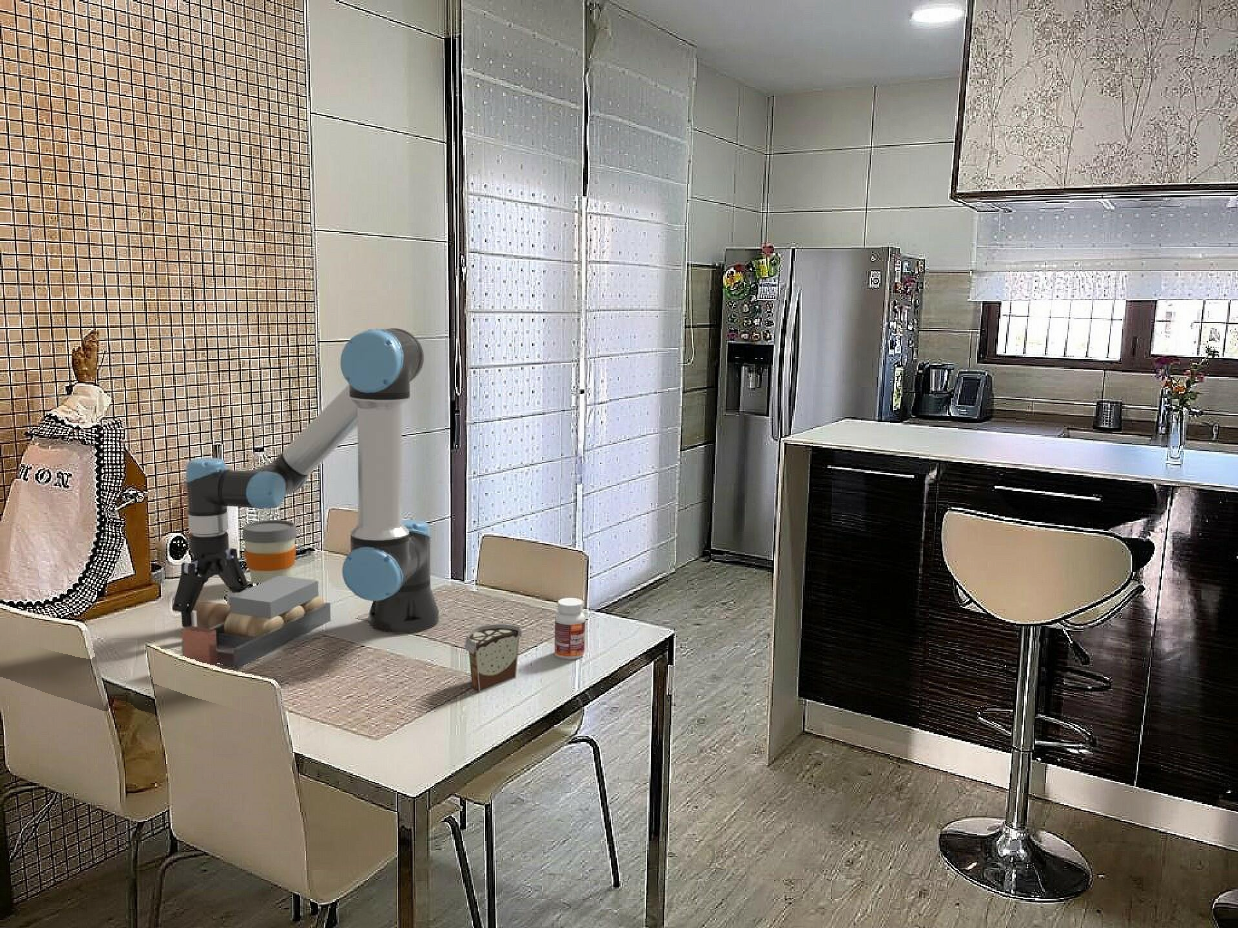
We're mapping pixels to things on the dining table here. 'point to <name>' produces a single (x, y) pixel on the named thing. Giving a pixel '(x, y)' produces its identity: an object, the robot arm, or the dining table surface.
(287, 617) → the roller
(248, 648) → the roller bed
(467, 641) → the food container
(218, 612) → the roller
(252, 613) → the slab
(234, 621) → the roller
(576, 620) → the pill bottle
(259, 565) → the reusable coffee cup
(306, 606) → the roller
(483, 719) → the dining table surface
